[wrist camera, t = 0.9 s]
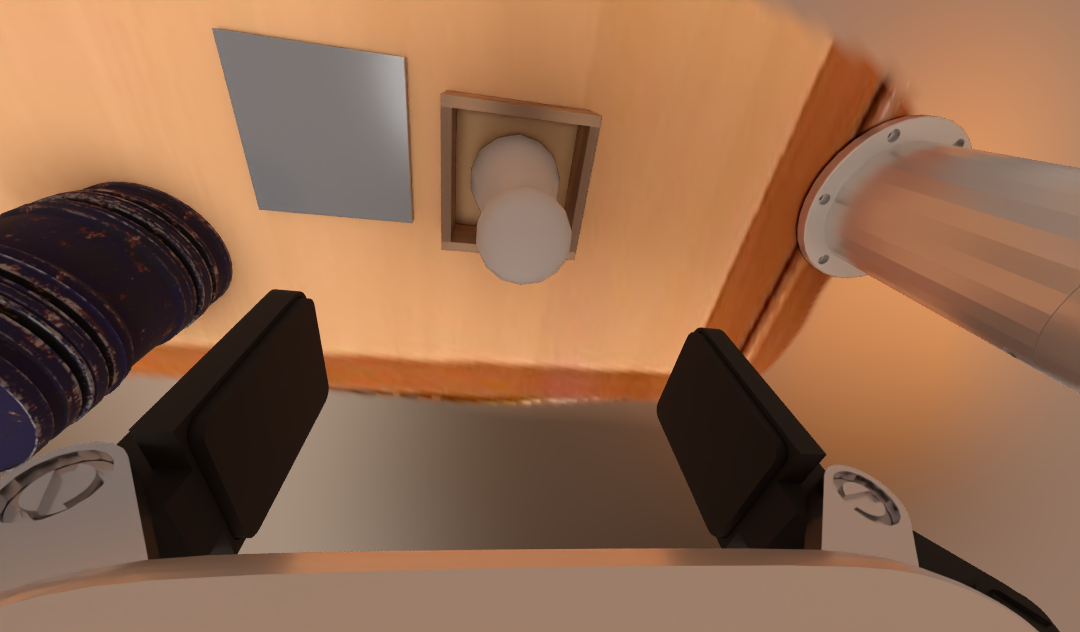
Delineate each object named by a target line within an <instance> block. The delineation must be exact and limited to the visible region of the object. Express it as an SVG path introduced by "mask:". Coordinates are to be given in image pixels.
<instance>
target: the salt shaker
mask: <svg viewBox="0 0 1080 632" xmlns="http://www.w3.org/2000/svg"><path fill="white" fill-rule="evenodd" d="M559 179H560V177H559V173H558V170H557V166H556V163H555V159H554V157H553V156H552V155H551V154H550V153H549V152H548V151H547V150H546V149H545V148H544V147H543V146H542V145H541V143H540V142H538V141H535V140H532V139H530V138H527V137H525V136H522V135H520V134H518V135H512V136H505V137H499V138H497V139H495V140H494V141H493V142H491V143H490V144H488V145H487V146H485V147H484V148H482V149H481V150H480V152H479V154H478V156H477V158H476V160H475V162H474V164H473V166H472V168H471V191H472V194H473V196H474V198H475V200H476V202H477V205H478V207H479V209H480V211H481V215H480V217H479V219H478V222H477V236H476V245H477V248H478V251H479V253H480V255H481V257H482V259H483V261H484V263H485V265H486V267H487V268H488V269H489V270H490V271H492V272H493V273H494V274H495V275H496V276H498V277H499V278H500V279H501V280H504V281H508V282H512V283H516V284H520V285H523V284H531V283H538V282H542V281H543V280H545V279H546V278H548V277H550V276H551V275H553V274H555V273H556V272H557V271H558V270H559V269H560V267H561V266H562V264H563V263H564V262H565V260H566V259H567V258H568V256H569V250H570V244H571V237H572V231H571V227H570V224H569V221H568V217H567V214H566V211H565V210H564V208H563V207H562V206H561V205H560V204H559V203H558V202H557V195H558V187H559Z"/></svg>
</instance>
